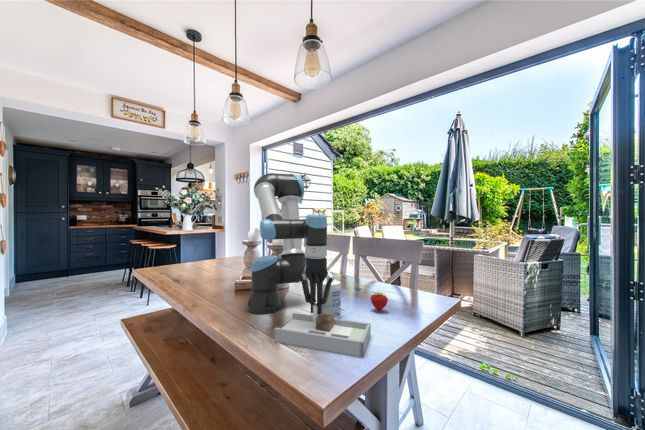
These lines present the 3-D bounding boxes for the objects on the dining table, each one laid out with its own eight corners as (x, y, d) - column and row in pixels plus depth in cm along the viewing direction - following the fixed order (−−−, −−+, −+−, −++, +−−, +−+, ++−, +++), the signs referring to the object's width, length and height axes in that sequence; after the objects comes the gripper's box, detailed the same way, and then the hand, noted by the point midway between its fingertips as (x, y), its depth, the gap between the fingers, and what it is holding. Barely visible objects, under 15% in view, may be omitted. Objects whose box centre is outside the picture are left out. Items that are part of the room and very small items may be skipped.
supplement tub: (337, 322, 107) (337, 285, 107) (314, 319, 110) (315, 283, 110) (343, 314, 116) (343, 280, 116) (322, 311, 119) (322, 278, 119)
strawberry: (386, 315, 115) (386, 292, 115) (368, 312, 118) (368, 289, 118) (389, 310, 120) (389, 288, 120) (372, 308, 124) (372, 286, 123)
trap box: (274, 341, 91) (274, 328, 91) (293, 324, 105) (293, 312, 105) (363, 357, 81) (363, 342, 81) (370, 335, 96) (370, 323, 96)
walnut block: (315, 329, 95) (315, 318, 95) (320, 324, 99) (320, 313, 99) (329, 331, 93) (329, 320, 93) (333, 326, 98) (333, 315, 98)
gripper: (295, 257, 96) (295, 324, 96) (330, 259, 91) (330, 329, 91) (303, 254, 103) (303, 316, 103) (336, 256, 98) (336, 321, 98)
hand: (316, 322), depth 97 cm, fingers closed
